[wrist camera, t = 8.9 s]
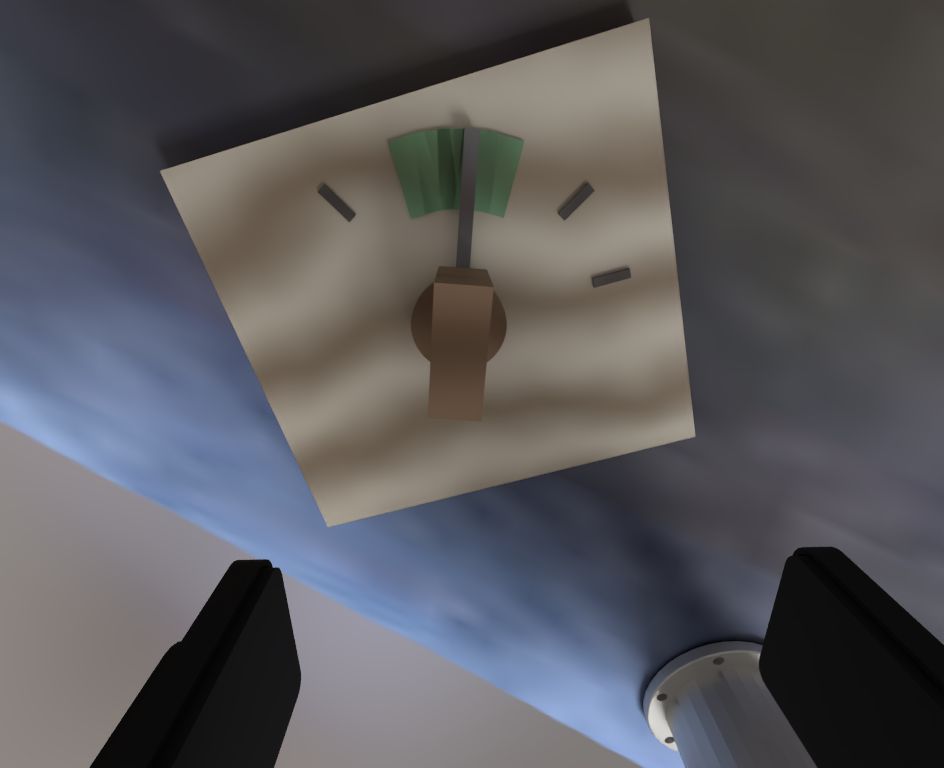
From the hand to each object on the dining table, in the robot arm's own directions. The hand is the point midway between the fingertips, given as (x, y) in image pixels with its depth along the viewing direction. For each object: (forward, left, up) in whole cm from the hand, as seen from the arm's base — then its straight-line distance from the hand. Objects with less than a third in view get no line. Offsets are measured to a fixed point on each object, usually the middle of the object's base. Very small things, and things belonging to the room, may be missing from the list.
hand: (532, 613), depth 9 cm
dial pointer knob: (+4, 0, -19) cm, 19 cm away
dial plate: (+1, +1, -21) cm, 21 cm away
